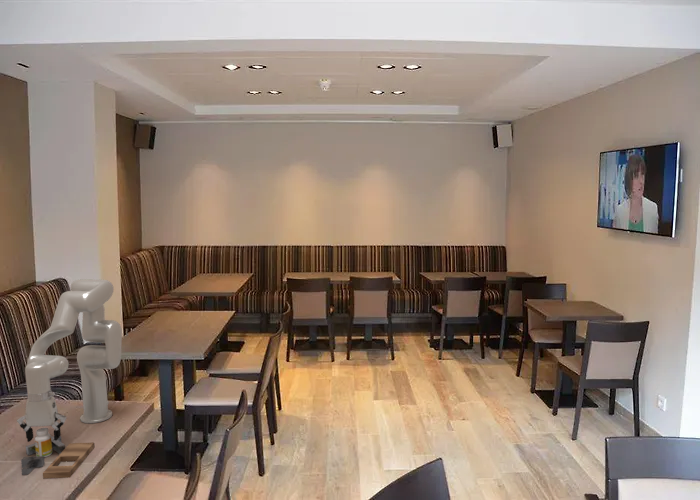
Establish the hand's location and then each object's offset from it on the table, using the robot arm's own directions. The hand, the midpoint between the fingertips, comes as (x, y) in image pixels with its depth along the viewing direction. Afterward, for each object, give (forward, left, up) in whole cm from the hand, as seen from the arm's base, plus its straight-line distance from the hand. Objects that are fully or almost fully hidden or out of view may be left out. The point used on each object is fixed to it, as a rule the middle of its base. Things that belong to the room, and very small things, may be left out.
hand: (43, 439), depth 214 cm
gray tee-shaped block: (+11, 0, -6) cm, 13 cm away
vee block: (-4, 0, -6) cm, 7 cm away
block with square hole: (+7, +12, -6) cm, 15 cm away
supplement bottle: (0, 0, -6) cm, 6 cm away
